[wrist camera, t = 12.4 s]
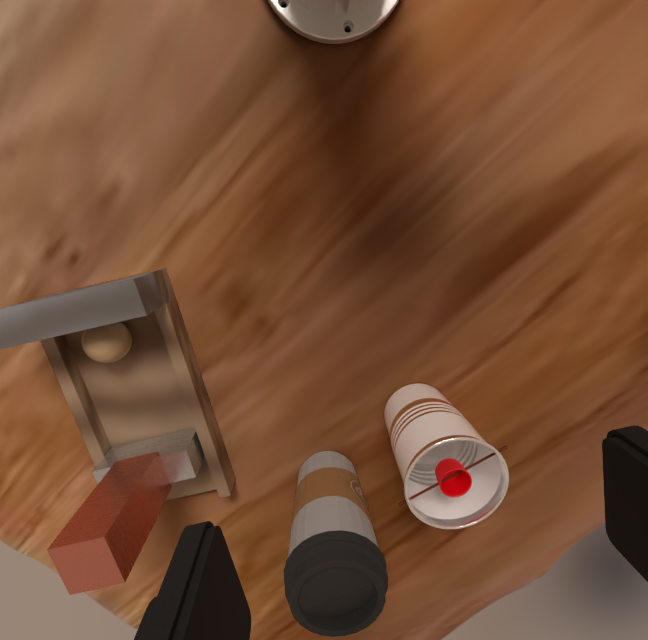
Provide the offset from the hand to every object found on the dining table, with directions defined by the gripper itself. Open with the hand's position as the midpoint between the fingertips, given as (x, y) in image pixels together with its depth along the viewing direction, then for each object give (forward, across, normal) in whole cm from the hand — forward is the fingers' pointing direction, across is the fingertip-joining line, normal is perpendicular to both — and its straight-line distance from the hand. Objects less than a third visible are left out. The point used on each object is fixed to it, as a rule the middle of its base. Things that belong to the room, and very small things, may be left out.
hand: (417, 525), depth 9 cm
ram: (+29, +21, +12) cm, 38 cm away
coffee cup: (+31, +5, +20) cm, 37 cm away
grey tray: (+30, +21, +6) cm, 37 cm away
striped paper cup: (+31, -6, +15) cm, 35 cm away
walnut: (+29, +21, 0) cm, 36 cm away
